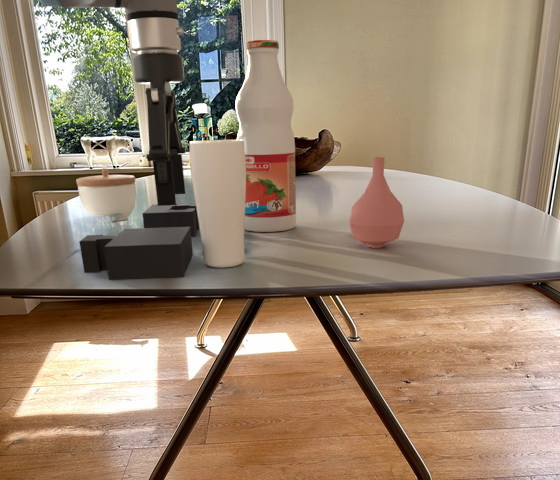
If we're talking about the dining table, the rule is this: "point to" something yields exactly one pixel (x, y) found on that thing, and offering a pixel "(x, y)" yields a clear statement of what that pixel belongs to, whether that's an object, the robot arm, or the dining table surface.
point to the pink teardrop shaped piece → (376, 211)
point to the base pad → (139, 253)
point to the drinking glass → (220, 199)
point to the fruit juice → (267, 141)
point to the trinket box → (108, 194)
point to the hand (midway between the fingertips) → (172, 199)
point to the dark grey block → (172, 217)
